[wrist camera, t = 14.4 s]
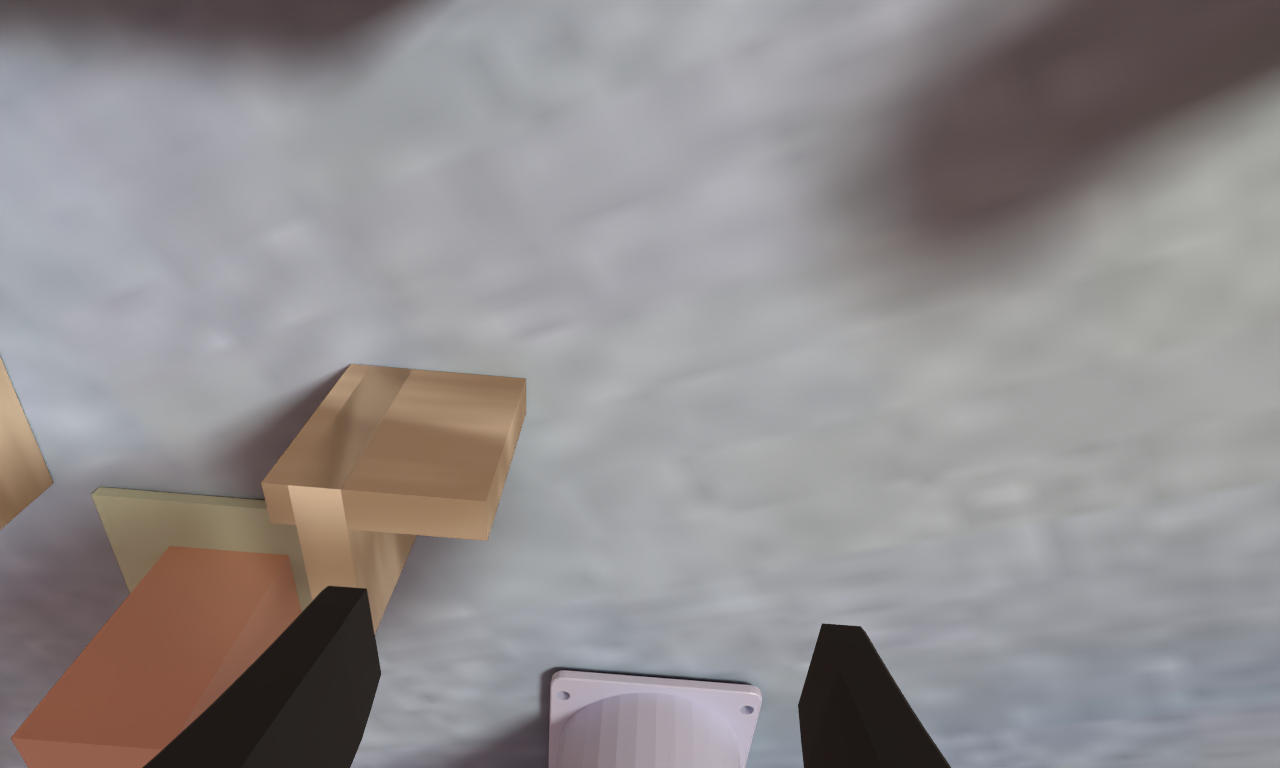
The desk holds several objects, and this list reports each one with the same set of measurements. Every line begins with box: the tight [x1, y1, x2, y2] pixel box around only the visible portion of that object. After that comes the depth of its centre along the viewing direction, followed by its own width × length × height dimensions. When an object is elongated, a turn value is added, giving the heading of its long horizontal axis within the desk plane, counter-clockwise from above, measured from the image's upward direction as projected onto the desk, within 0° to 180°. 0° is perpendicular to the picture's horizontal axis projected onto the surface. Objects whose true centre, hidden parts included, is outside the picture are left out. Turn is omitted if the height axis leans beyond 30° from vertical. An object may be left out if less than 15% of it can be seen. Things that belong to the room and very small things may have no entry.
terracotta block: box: [11, 546, 302, 768], centre depth 23 cm, size 4×4×7 cm
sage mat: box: [92, 487, 312, 611], centre depth 26 cm, size 8×8×1 cm
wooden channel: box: [0, 357, 526, 634], centre depth 17 cm, size 18×17×6 cm
